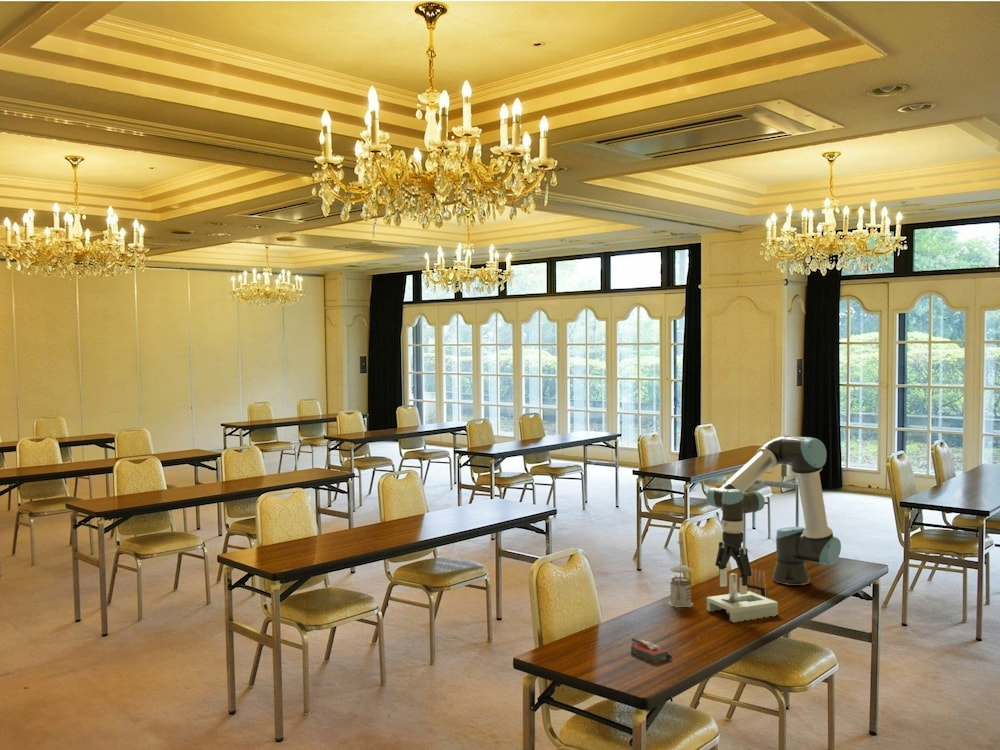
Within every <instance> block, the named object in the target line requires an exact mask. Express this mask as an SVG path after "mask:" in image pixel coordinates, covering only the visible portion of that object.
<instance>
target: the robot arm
mask: <svg viewBox="0 0 1000 750" xmlns="http://www.w3.org/2000/svg"><path fill="white" fill-rule="evenodd" d="M827 455H828V454H827V449H826V446H825V444H824V442H822V441H821V440H820V439H818V438H815V437H811V436H791V435H780V436H778V437H775V438H773V439H771V440H769V441H767V442H765V443H764V444H763V445H761V446H760V447H759V448H758V449H757V450H756V451H755V455H754V456H752V457H751V459H749V460H747V462H746V463H745V464H744V465H743V466H742V467H741V468H739V469H738V470H737V471H736V472H735V473H734V474H733V475H731V476H730V477H729V478H728V479H727V480H726V481H725V482H724V483H723V484H722V485H720V486H719V487H717V486H716V487H710V488H709V489H708V490H707V492H706V497H705V499H706V503H707V504H708V505H710V506H711V507H714V508H719V509H722V511H721V512H722V514H721V515H722V528H721V529H722V530H723V531H722V537H721V538H722V541H719V542H718V551H717V554H716V558H715V563H714V564H715V566H716V567H718V569H719V570H718V571H719V572H718V573H719V574H718V575H719V587H721V588H722V587H723V588H724V587H728V567H727V565H728V564H729V561H730V560H731V558H733V560H735V564H736V566H737V568H738V571H739V574H740V575H739V593H740V595H743V594H747V585H748V576H752V573H751V568H752V567H751V565H750V560H749V559H750V558H749V555H748V552H749V551H748V548H743V547H742V543H743V542H744V532H743V531H744V515H745V514H749V513H756V512H759V511H762V510H763V508H764V507H765V505H766V501H765V497H764V496H763V494H762V493H760V492H759V491H752V490H751V491H747V492H746V490H748V489H749V488H750V487H751V486H752V485H753V484H754V483H755V482H756V481H758V480H759V478H761V477H762V476H763V475H764V474H765V473H767V471H768V470H770V469H774V468H775V467H776V466H778V465H790V466H791V471H792V473H793V474H795V475H796V476H797V484H798V490H799V496H800V503H801V507H802V514H803V520H804V527H803V526H789V527H788V526H787V527H781V528H778V529H777V530H776V536H775V537H776V538H775V540H776V541H775V543H776V545H775V546H776V551H775V552H776V563H775V567H774V571H773V573H772V576H771V577H772V579H773V580H775V581H777V582H781V583H788V584H801V583H806V582H808V581H810V582H811V578H810V575H809V574H810V573H809V571H808V569H807V566H806V562H811V563H815V564H820V565H825V566H831V565H833V564H835V563H836V562H837V560H838V559H839V557H840V555H841V551H842V542H841V540H840V539H839V538H838V537H836V536H834V533H833V529H832V528H830V527H829V526H828V520H827V515H826V513H827V512H826V508H825V507H826V506H825V502H824V495H823V489H822V482H821V475H820V472H821V471H822V470H823V466H825V465H826V462H827ZM743 572H744V573H743ZM773 580H772V581H773Z"/></svg>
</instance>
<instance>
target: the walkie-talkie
mask: <svg viewBox="0 0 1000 750" xmlns="http://www.w3.org/2000/svg"><path fill="white" fill-rule="evenodd" d="M631 641H632V642H633V643H634V644H632V645H630V654H631V653H634V654H636V655H638V656H640V657H639V658H641V657H642V658H641V659H643V658H645V659H644V660H646V659H647V660H646V661H648V660H649V661H648V662H650V661H651V663H653V662H654V663H653V664H658V663H662V662H665V661H668V660H669V659H670V660H671V659H672V657H673V656H672V655H671V654H669V651H667V650H665V649H662V648H660V646H659V645H656V644H654V643H652V642H650V641H647V640H646V639H642V640H639V639H636V638H631ZM634 654H633V655H634ZM636 655H635V656H636ZM638 656H637V657H638ZM661 661H662V662H661Z"/></svg>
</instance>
